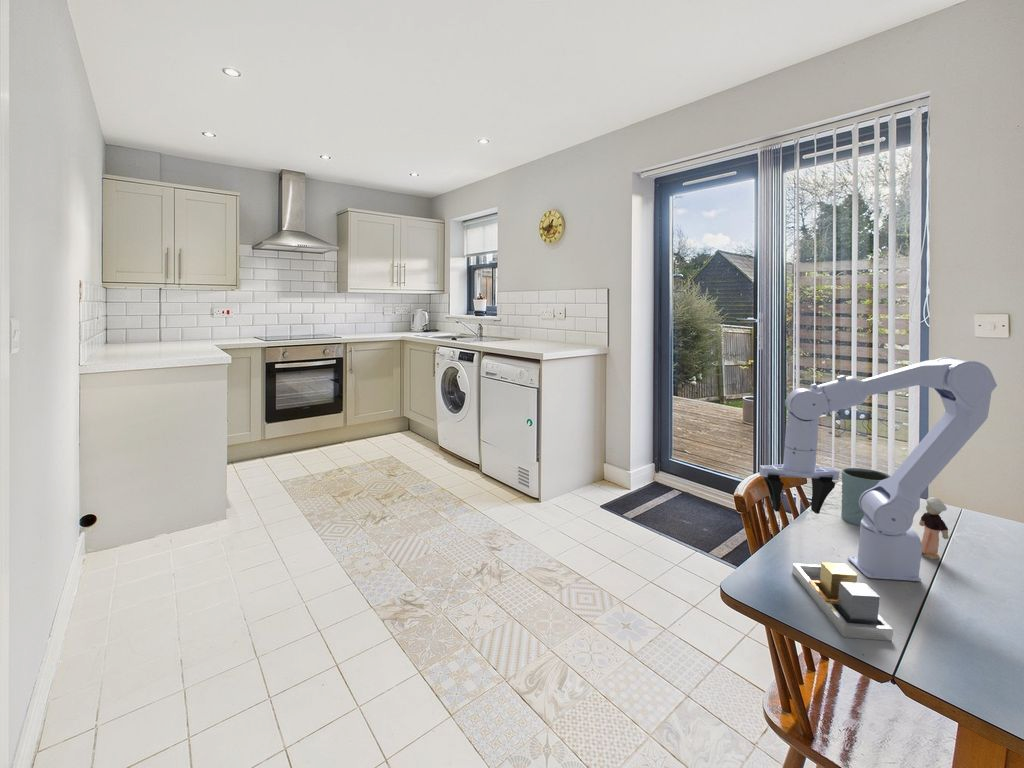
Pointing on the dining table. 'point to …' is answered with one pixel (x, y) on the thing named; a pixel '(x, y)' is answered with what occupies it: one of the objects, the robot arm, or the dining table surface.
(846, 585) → the gunmetal nut block
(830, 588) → the golden block
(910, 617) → the dining table surface
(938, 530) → the grandmother figurine
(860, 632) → the zinc tray
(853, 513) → the green pot
